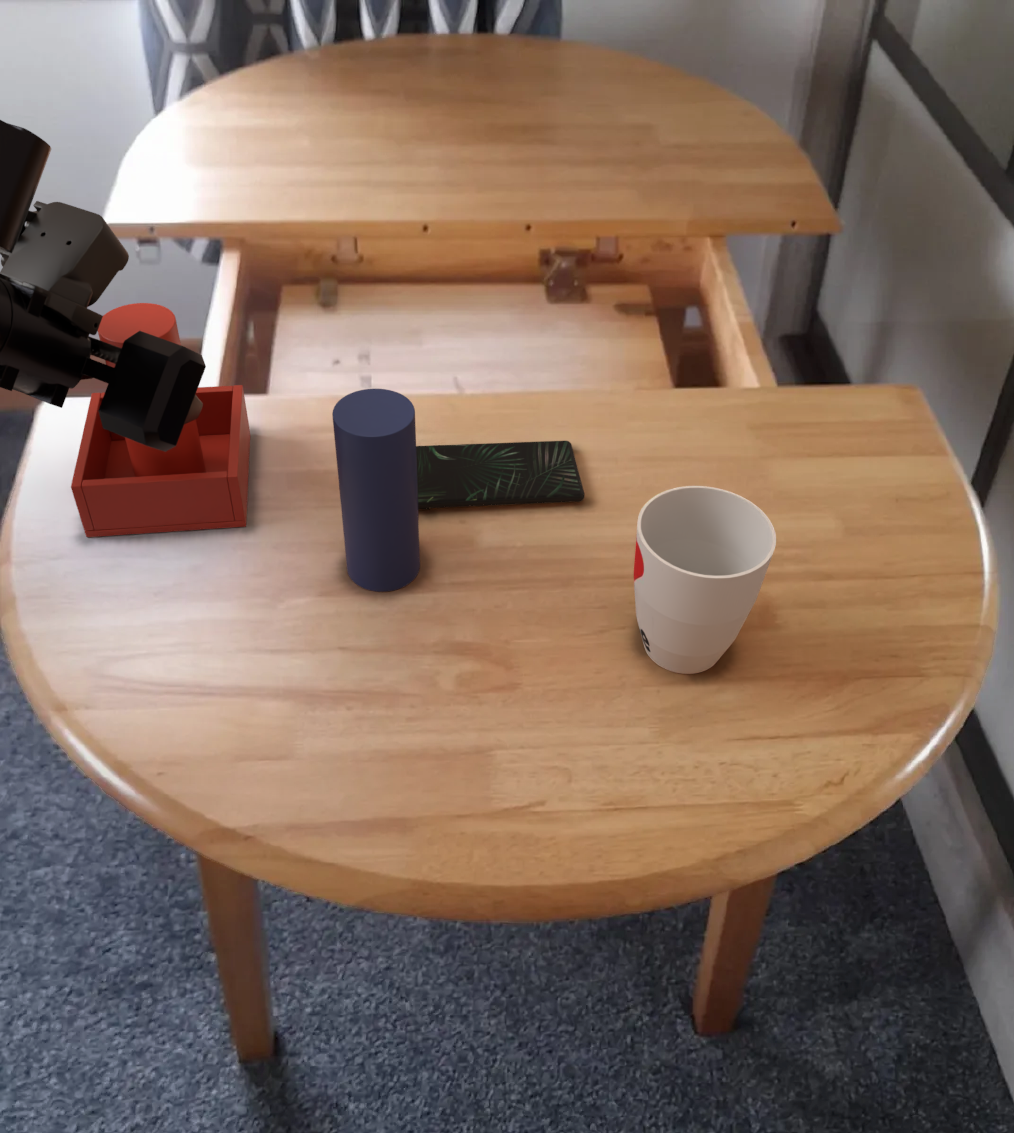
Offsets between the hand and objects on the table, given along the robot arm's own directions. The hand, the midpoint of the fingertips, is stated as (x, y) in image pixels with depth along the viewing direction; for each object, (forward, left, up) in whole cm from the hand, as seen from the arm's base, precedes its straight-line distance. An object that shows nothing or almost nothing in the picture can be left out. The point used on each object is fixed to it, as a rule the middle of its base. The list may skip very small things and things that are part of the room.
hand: (145, 390), depth 76 cm
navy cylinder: (+18, -2, -9) cm, 20 cm away
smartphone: (+21, +9, -9) cm, 24 cm away
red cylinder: (0, +1, -8) cm, 8 cm away
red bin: (0, +1, -9) cm, 9 cm away
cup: (+39, -2, -9) cm, 40 cm away
